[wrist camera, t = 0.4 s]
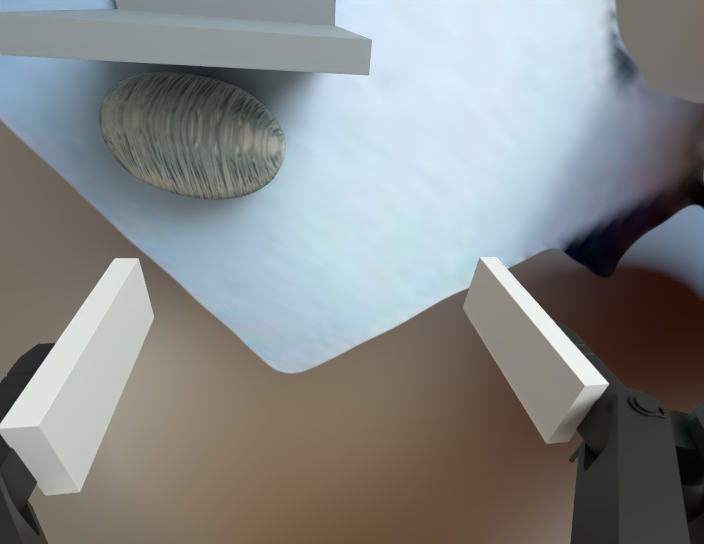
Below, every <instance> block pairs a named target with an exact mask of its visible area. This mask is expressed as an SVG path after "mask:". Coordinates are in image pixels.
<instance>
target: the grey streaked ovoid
mask: <svg viewBox="0 0 704 544" xmlns="http://www.w3.org/2000/svg"><path fill="white" fill-rule="evenodd" d="M99 121H100V128H101V131H102V134H103V137H104V140H105V143H106V145H107V147H108V148H109V150H110V151H111V153H112V154H113V156H114V157H115V159H116V160H117V161H118V162H119V163H120V164H121V165H122V166H123V167H124V168H125V169H126V170H127V171H129V172H130V173H131V174H133V175H134V176H135V177H137V178H138V179H140V180H142V181H144V182H146V183H148V184H150V185H152V186H154V187H157V188H160V189H163V190H167V191H170V192H172V193H175V194H179V195H184V196H189V197H194V198H201V199H227V198H236V197H241V196H245V195H248V194H250V193H253V192H255V191H258V190H259V189H261V188H263V187H264V186H265V185H267V184H268V183H269V182H270V181H271V180H272V179H273V178H274V177H275V175H276V174H277V172H278V170H279V169H280V167H281V164H282V161H283V159H284V155H285V139H284V135H283V132H282V130H281V128H280V126H279V124H278V122H277V120H276V119H275V117H274V116H273V114H272V113H271V112H270V110H269V109H267V108H266V107H265V105H264V104H263V103H262V102H260V101H259V100H258V99H257V98H255V97H254V96H253V95H251V94H250V93H248V92H247V91H245V90H243V89H241V88H239V87H237V86H235V85H232V84H230V83H227V82H224V81H221V80H217V79H214V78H211V77H206V76H201V75H195V74H188V73H177V72H148V73H140V74H137V75H134V76H131V77H128V78H126V79H123V80H121V81H119V82H118V83H117V84H116V85H114V86H113V87H112V88H111V89H110V90H109V91H108V93H107V94H106V96H105V98H104V100H103V102H102V104H101V108H100V114H99Z"/></svg>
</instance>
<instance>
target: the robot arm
mask: <svg viewBox="0 0 704 544" xmlns="http://www.w3.org/2000/svg"><path fill="white" fill-rule="evenodd" d="M463 310H464V311H465V313H466V314H467V316H468V318H469V319H470V321H471V323H472V324H473V326H474V327H475V329H476V331H477V332H478V334H479V335H480V337H481V339H482V340H483V342H484V343H485V345H486V347H487V348H488V350H489V351H490V353H491V355H492V356H493V358H494V359H495V361H496V363H497V364H498V366H499V368H500V369H501V371H502V373H503V374H504V376H505V377H506V379H507V381H508V382H509V384H510V385H511V387H512V389H513V390H514V392H515V394H516V395H517V397H518V398H519V400H520V401H521V403H522V405H523V406H524V408H525V410H526V411H527V413H528V415H529V416H530V418H531V419H532V421H533V423H534V424H535V426H536V427H537V429H538V431H539V432H540V434H541V435H542V437H543V439H544V440H545V442H546V443H547V444H550V443H559V442H568V441H569V440H570V438H571V437H572V435H573V434H574V433H575V431H576V430H577V431H578V432H579V433H580V435H581V436H582V438H583V440H582V442H581V443H580V445H579V446H578V447H577V448H576V450H575V451H574V453H573V454H572V455H571V457H570V459H569V461H570V462H574V460H575V459H576V458H577V457H578V465H577V476H576V487H575V498H574V510H573V521H572V532H571V543H570V544H704V403H703V404H699V405H697V406H696V407H695V408H694V409H693V410H692V411H691V412H690V413H689V414H688V413H684V412H679V411H674V410H669V409H665V408H664V406H663V405H662V404H661V403H659V402H658V401H657V400H656V399H654V398H653V397H651V396H650V395H648V394H646V393H644V392H642V391H638V390H635V389H627V388H626V387H625V386H624V385H623V384H622V383H621V382H620V381H619V380H618V378H617V377H616V376H615V375H614V374H613V373H612V372H611V371H610V370H609V369H608V368H607V367H606V366H605V365H604V364H603V362H602V361H601V360H600V359H599V358H598V357H597V356H596V355H594V354H593V352H592V350H591V349H590V348H589V347H588V346H585V343H584V342H583V341H582V340H581V339H580V338H579V337H578V335H577V334H576V333H575V332H573V331H572V330H571V329H569V328H568V327H566V326H565V325H563V324H562V323H555V322H554V321H553V320H552V319H551V318H550V317H549V316H548V315H547V313H546V312H545V311H544V310H543V309H542V308H541V307H540V306H539V304H538V303H537V302H536V301H535V300H534V299H533V298H532V297H531V296H530V294H529V293H528V292H527V291H526V290H525V289H524V288H523V287H522V285H521V284H520V283H519V282H518V281H517V280H516V279H515V278H514V276H513V275H512V274H511V273H510V272H509V271H508V270H507V269H506V267H505V266H504V265H503V264H502V263H501V262H500V261H499V260H498V258H497V257H480V258H479V261H478V264H477V267H476V270H475V273H474V276H473V279H472V282H471V285H470V288H469V291H468V294H467V297H466V300H465V303H464V306H463ZM153 319H154V315H153V311H152V307H151V304H150V300H149V296H148V292H147V288H146V285H145V282H144V277H143V273H142V270H141V266H140V262H139V259H138V258H115V259H114V260H113V262H112V263H111V265H110V266H109V268H108V269H107V270H106V272H105V273H104V275H103V276H102V278H101V279H100V281H99V282H98V284H97V285H96V286H95V288H94V289H93V291H92V292H91V294H90V295H89V296H88V298H87V299H86V301H85V303H84V304H83V305H82V307H81V308H80V309H79V311H78V312H77V314H76V315H75V317H74V318H73V320H72V321H71V322H70V324H69V325H68V327H67V328H66V330H65V331H64V333H63V334H62V335H61V337H60V338H59V340H58V341H57V343H53V344H52V343H50V344H37V345H36V346H35V347H33V348H32V349H31V350H29V351H28V352H27V353H25V354H24V355H23V356H21V357H20V358H19V359H18V360H17V362H16V363H15V364H14V366H13V367H12V368H11V369H10V371H9V372H8V373H7V377H4V379H3V380H2V381H1V383H0V544H48V542H47V540H46V538H45V535H44V533H43V531H42V529H41V526H40V524H39V521H38V519H37V517H36V514H35V512H34V510H33V507H32V506H31V504H30V503H29V502H28V499H29V497H30V495H31V493H32V491H33V489H34V487H35V486H36V484H37V485H38V486H39V487H40V489H41V490H42V492H43V493H44V494H45V496H46V495H56V494H65V493H75V492H80V491H81V488H82V486H83V483H84V481H85V479H86V476H87V474H88V472H89V469H90V467H91V465H92V462H93V460H94V458H95V455H96V453H97V451H98V448H99V446H100V443H101V441H102V439H103V436H104V434H105V432H106V429H107V427H108V425H109V422H110V420H111V418H112V415H113V413H114V410H115V408H116V406H117V404H118V401H119V399H120V397H121V394H122V392H123V390H124V387H125V385H126V382H127V380H128V378H129V375H130V373H131V371H132V368H133V366H134V363H135V361H136V359H137V356H138V354H139V352H140V349H141V347H142V345H143V343H144V340H145V338H146V335H147V333H148V331H149V328H150V326H151V324H152V321H153Z"/></svg>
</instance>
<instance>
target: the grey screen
mask: <svg viewBox="0 0 704 544" xmlns="http://www.w3.org/2000/svg"><path fill="white" fill-rule="evenodd" d="M115 1H116V5H117V9H100V10H58V11H17V12H0V51H1V54H2V55H10V56H28V57H46V58H64V59H82V60H100V61H119V62H137V63H155V64H173V65H191V66H209V67H227V68H245V69H263V70H282V71H300V72H318V73H336V74H354V75H369V68H370V56H371V44H372V40H371V39H368V38H366V37H363V36H360V35H358V34H355V33H352V32H350V31H347V30H345V29H342V28H339V27H337V26H335V2H336V0H115Z"/></svg>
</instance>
